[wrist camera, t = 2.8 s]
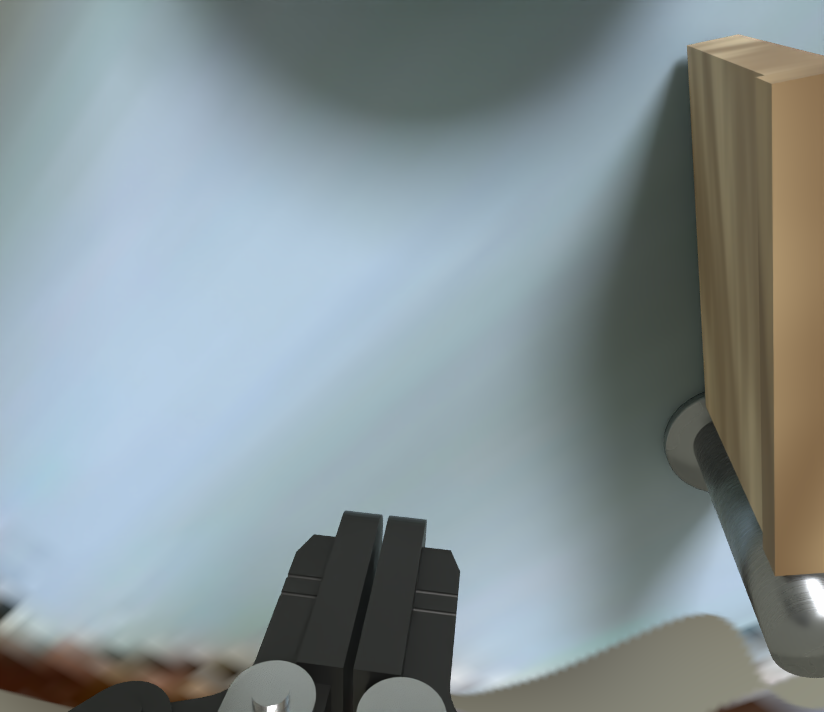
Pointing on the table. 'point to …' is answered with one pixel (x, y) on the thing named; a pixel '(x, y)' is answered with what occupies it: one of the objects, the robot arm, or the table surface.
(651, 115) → the table surface
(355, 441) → the table surface
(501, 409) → the table surface
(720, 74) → the gate
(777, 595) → the hinge post
